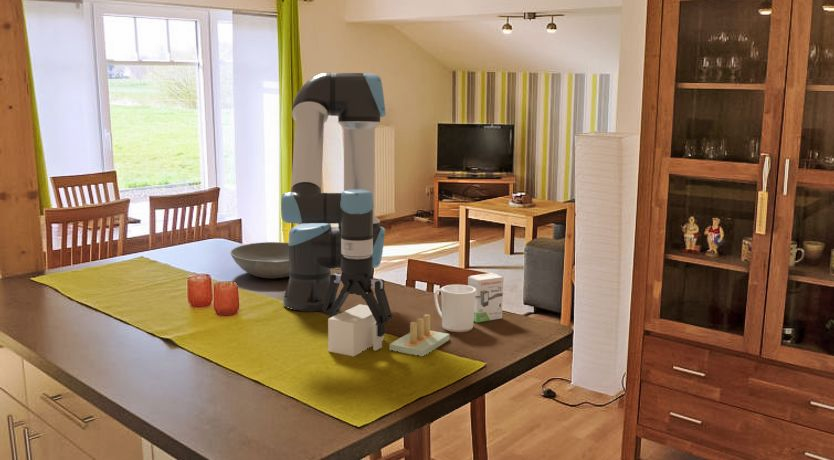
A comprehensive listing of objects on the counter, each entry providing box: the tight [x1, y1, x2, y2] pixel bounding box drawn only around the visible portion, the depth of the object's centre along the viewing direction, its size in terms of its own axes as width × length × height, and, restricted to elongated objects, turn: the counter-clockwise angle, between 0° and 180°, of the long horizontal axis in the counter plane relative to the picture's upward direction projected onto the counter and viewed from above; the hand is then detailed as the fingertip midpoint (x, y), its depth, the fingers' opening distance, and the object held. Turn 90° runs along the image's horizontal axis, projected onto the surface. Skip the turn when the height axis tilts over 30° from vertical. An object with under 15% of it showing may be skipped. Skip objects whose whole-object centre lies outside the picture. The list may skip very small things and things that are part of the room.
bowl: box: [230, 241, 289, 280], centre depth 255 cm, size 27×28×8 cm
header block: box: [389, 313, 450, 357], centre depth 190 cm, size 9×14×6 cm, turn 152°
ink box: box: [467, 272, 504, 323], centre depth 212 cm, size 9×5×12 cm, turn 121°
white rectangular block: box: [327, 303, 385, 357], centre depth 189 cm, size 14×7×8 cm, turn 152°
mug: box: [433, 284, 476, 333], centre depth 204 cm, size 11×9×10 cm
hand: (356, 344), depth 189 cm, fingers open, 11 cm apart
